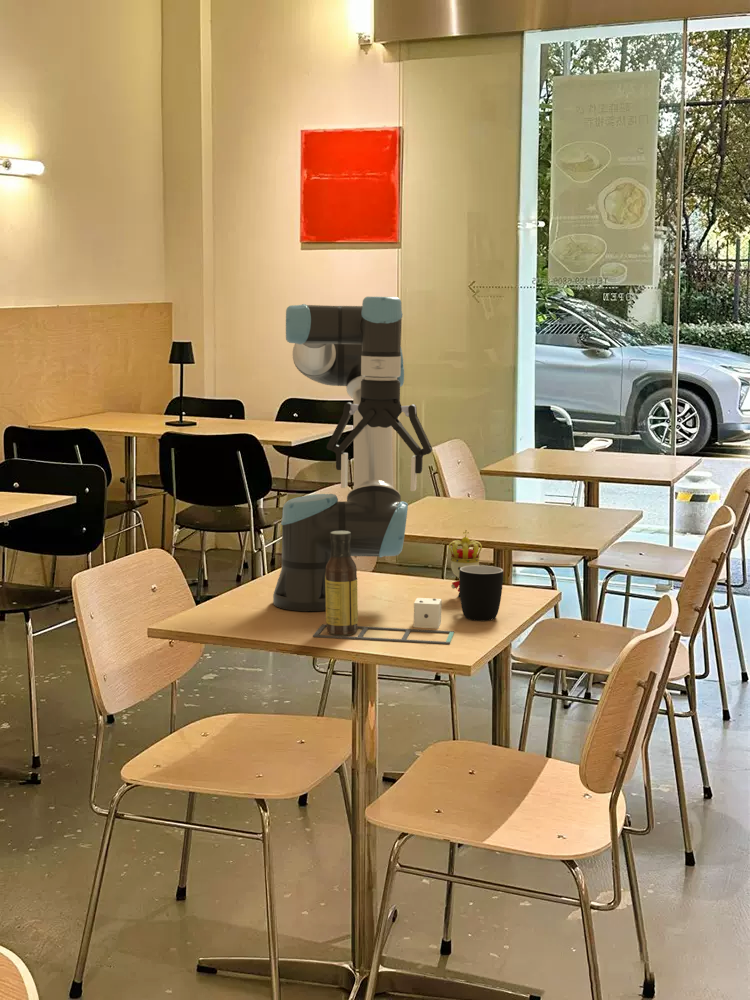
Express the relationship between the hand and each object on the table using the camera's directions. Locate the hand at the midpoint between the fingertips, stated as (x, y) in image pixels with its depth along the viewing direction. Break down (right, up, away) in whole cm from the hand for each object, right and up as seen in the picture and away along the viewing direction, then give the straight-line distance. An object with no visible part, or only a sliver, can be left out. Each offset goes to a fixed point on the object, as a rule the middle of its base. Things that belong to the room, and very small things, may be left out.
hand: (378, 488), depth 244 cm
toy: (+19, -24, +36) cm, 47 cm away
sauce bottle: (-7, -28, +2) cm, 29 cm away
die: (+10, -27, +9) cm, 30 cm away
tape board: (+1, -28, +1) cm, 28 cm away
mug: (+20, -26, +18) cm, 38 cm away
